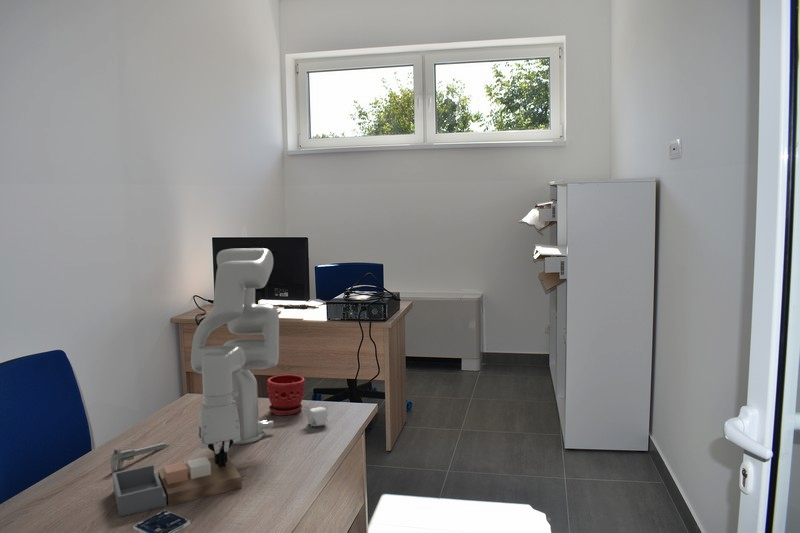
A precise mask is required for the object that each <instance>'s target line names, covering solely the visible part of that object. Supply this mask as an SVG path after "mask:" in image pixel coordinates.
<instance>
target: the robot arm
mask: <svg viewBox="0 0 800 533" xmlns="http://www.w3.org/2000/svg"><path fill="white" fill-rule="evenodd" d="M216 264H217V269H216V275H215V282H214V283H215V285H214V293H213V294H214V296H213V302H212V303H213V304H212V305H213V306H212V310H211V311H210V313H208V315H207V316H205V317H204V318H203V320H202V321H201V322H200V323H199V325H198V326H197V328H196V330H195V332H194V334H193V338H192V344H191V353H190V354H191V355H190V365H191V368H192V370H193V371H194V372H195V373H197V374H201V376H202V378H201V379H202V380H201V381H202V398H203V400H202V402H203V404H200V406H199V414H198V438H199V439H200V440H199V443H198V444H199V445H198V446H199V449H201V450H202V449H204V450H205V449H207V450H208V449H209V450H210V451H212V452H213V453H214V457H215V464H217V465H218V466H219V468H222V466H223V467H226V462H227V457H228V451H229V450H230V448H231V446H232V445H246V444H251V443H255V442H257V441H259V440H261V439H262V438H264V436H265V431H264V430H265V429H267V428H268V429H270V428H274V425H275V423H274V420H269V421H268V420H267V419H266V420H265V419H264V420H262V421H261V420H259V419H260V418H259V397H258V382H257V379H256V377H255V375H254V374H253V373H252V372H251V370H266V369H267V370H269V369H274V368H275V367H277V365H278V364H279V358H280V320H279V311H278V309H277V307H276V306H275V305H273V304H270V303H268V304H267V303H258V304H256V289H263V288H265V286H266V285H267V283H268V281H269V279H270V275H271V274H272V271H273V268H274V256H273V253H272V251H271V250H270V249H268V248H264V247H261V248H260V247H250V248H249V247H248V248H244V247H243V248H239V247H238V248H228V249H227V248H226V249H222V250H220V251H219V252H217V255H216ZM225 324H226V325H227V329H228V332H230V333H231V334H233V335H262V336H263V337H261V338H235V339H231V340H228V341H226V342H224V344H223V345H206V341H207V338H208V337H209V336H210V334H211V333H212V332H213V331H215V330H216V329H218V328H219V327H221V326H223V325H225ZM219 443H221V447H219Z"/></svg>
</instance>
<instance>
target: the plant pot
mask: <svg viewBox="0 0 800 533" xmlns="http://www.w3.org/2000/svg"><path fill="white" fill-rule="evenodd" d="M266 382H267V384H266V386H267V387H266V389H267V395H268V399H269V402H270V403H269V404H270V405H269V408H268V409H269V411H270V412H271V413H272V414H274V415H276V416H289V415H290V416H291V415H294V414H296V413H299V412H300V411H301V410H302V408H303V404H302V401H303V398H304V394H305V386H306V384H305V383H306V382H305V378H304V377H303V376H301V375H298V374H297V375H296V374H280V375H275V376H271V377H269V378H268V379H267V380H266Z"/></svg>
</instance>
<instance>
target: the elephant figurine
mask: <svg viewBox="0 0 800 533" xmlns="http://www.w3.org/2000/svg"><path fill="white" fill-rule="evenodd" d="M303 412H304V414H305V417H306V418H307V423H308V425H309V424H311V425H310V426H311V427H312V426H314V427H316V426H317V427H319V426H325V425H326V424H327V423H329V419H328V415H329V414H328V403H327V402H324V407H322V406H317V407H313V408H310V407H308V405H306V406H305V407H304V409H303ZM326 421H327V422H326Z"/></svg>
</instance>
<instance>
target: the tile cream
mask: <svg viewBox="0 0 800 533" xmlns="http://www.w3.org/2000/svg"><path fill="white" fill-rule="evenodd" d="M208 459H209V458H207V456H204V457H199V458H194V459H190V460H187V461H186V464H187V471H188V474H189V476H190V478H191V479H194V478H198V477H202V476H207V475H211V464H210V462H209V460H208Z"/></svg>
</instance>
